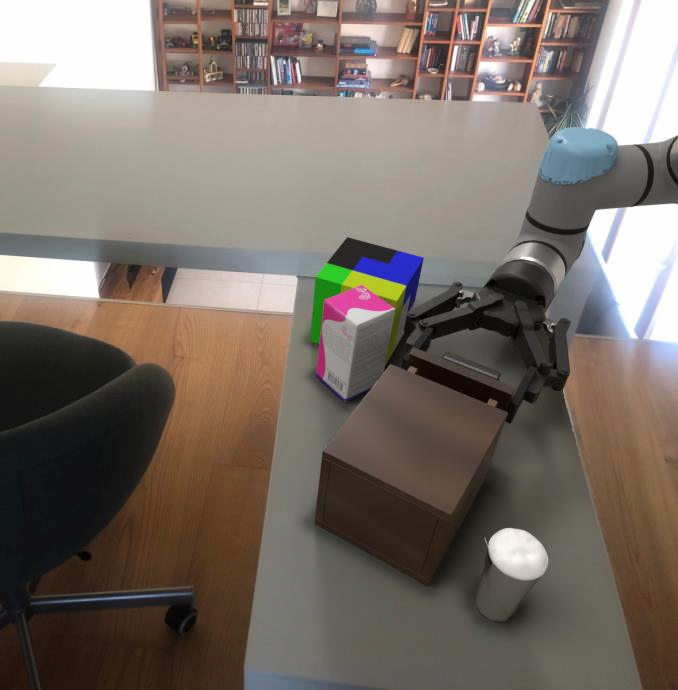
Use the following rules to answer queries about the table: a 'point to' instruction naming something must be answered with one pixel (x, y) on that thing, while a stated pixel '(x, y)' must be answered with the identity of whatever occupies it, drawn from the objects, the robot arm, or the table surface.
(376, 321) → the supplement box
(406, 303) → the puzzle toy
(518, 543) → the milkshake
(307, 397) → the table surface
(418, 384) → the cabinet
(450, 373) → the drawer
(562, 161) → the robot arm
